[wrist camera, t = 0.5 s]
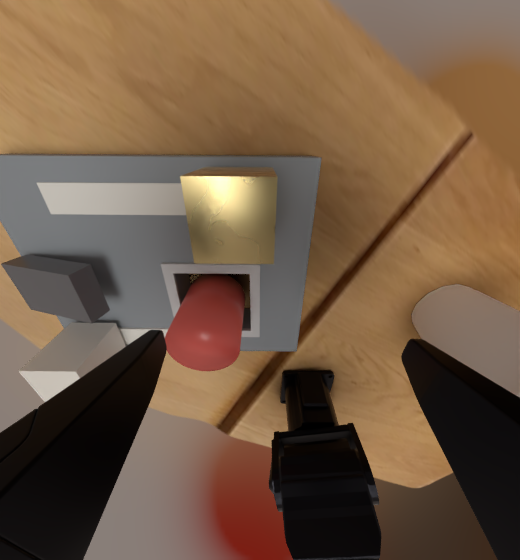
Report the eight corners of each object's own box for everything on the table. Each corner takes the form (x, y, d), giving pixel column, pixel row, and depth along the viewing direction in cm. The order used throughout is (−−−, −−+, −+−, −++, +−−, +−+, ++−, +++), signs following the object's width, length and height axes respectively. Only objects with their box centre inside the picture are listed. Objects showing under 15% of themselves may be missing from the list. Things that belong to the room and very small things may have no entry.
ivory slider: (129, 353, 22) (96, 404, 18) (88, 353, 22) (46, 403, 18) (115, 322, 20) (75, 371, 16) (70, 322, 20) (18, 371, 16)
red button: (245, 319, 21) (241, 371, 16) (193, 318, 21) (172, 370, 16) (244, 273, 19) (238, 318, 14) (184, 272, 19) (157, 317, 14)
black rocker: (110, 310, 17) (92, 323, 16) (52, 298, 19) (31, 309, 18) (90, 264, 15) (68, 275, 14) (26, 254, 17) (0, 263, 15)
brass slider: (270, 231, 16) (273, 264, 11) (212, 231, 16) (194, 263, 11) (272, 166, 13) (277, 176, 9) (206, 166, 13) (180, 176, 9)
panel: (292, 330, 25) (296, 353, 22) (95, 328, 25) (74, 351, 22) (311, 155, 16) (322, 157, 13) (8, 153, 16) (-45, 155, 13)
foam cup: (378, 312, 24) (483, 462, 12) (467, 251, 20) (728, 384, 9) (425, 353, 27) (542, 501, 16) (509, 306, 23) (739, 456, 12)
